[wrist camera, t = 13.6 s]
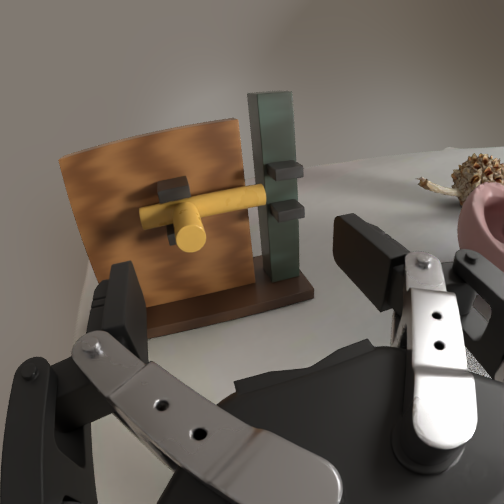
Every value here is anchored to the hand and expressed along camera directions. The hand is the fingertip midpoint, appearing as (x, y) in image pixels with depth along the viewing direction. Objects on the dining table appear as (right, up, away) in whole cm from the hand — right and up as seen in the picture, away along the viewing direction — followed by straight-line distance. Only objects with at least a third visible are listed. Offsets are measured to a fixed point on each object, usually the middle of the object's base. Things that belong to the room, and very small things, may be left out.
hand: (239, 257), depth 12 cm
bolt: (-3, +2, +12) cm, 12 cm away
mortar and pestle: (+29, -3, +18) cm, 34 cm away
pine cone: (+37, +7, +34) cm, 51 cm away
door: (-4, -5, +20) cm, 21 cm away
